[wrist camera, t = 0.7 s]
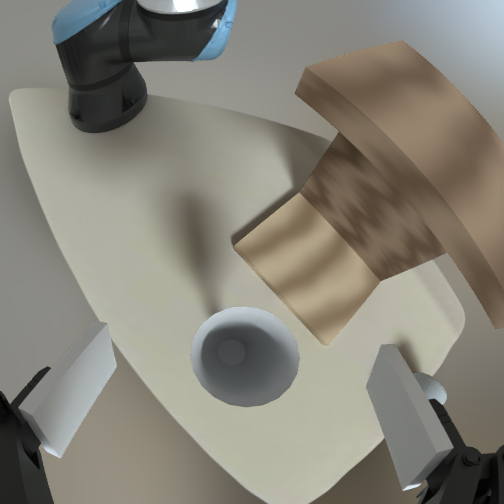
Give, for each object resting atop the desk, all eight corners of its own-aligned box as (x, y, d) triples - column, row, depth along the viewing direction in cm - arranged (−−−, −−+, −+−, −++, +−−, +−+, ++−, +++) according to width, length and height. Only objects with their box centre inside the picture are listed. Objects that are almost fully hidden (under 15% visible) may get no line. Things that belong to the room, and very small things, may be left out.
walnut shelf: (233, 248, 39) (305, 66, 12) (300, 192, 44) (402, 40, 17) (323, 345, 37) (520, 324, 10) (379, 278, 42) (538, 198, 15)
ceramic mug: (371, 408, 36) (402, 417, 28) (404, 370, 38) (437, 371, 31) (399, 444, 34) (430, 455, 27) (429, 408, 37) (460, 413, 30)
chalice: (259, 334, 36) (312, 327, 19) (242, 383, 34) (281, 418, 17) (205, 314, 36) (211, 290, 19) (187, 364, 34) (176, 385, 17)
